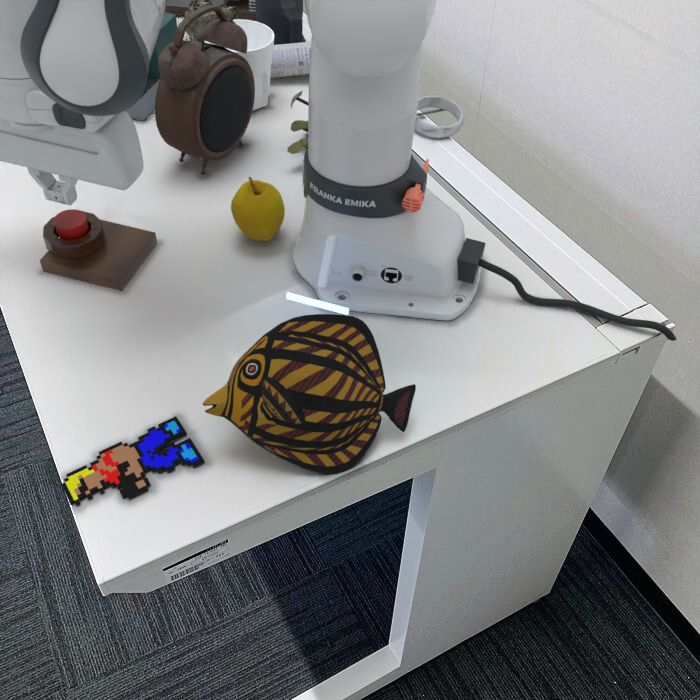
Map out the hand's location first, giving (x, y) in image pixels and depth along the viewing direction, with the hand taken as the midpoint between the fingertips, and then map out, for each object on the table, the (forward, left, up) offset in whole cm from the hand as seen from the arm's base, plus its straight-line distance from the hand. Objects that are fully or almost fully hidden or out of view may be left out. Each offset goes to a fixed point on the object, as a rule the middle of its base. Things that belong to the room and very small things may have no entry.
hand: (62, 199), depth 86 cm
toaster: (+12, -35, -8) cm, 38 cm away
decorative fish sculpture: (-35, +21, -7) cm, 42 cm away
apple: (-19, -10, -8) cm, 23 cm away
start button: (0, 0, -4) cm, 4 cm away
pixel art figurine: (-24, +21, -7) cm, 33 cm away
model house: (+12, -70, -8) cm, 71 cm away
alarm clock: (-7, -24, -8) cm, 26 cm away
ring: (-34, -43, -5) cm, 55 cm away
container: (-15, -51, -4) cm, 53 cm away
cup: (-5, -39, -8) cm, 40 cm away
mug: (-6, -55, -8) cm, 56 cm away
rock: (+5, -62, -5) cm, 63 cm away
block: (-3, 0, -8) cm, 8 cm away
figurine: (-15, -27, -3) cm, 31 cm away
